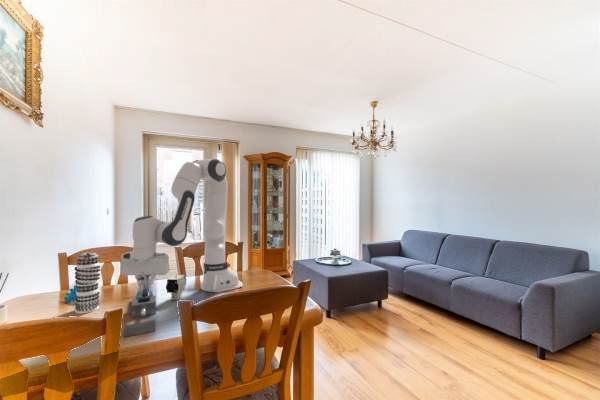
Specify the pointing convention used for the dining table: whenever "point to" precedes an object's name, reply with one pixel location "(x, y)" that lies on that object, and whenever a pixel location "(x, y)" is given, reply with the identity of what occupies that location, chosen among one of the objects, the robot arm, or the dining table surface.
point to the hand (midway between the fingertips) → (145, 284)
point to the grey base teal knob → (143, 304)
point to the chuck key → (144, 284)
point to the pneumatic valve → (176, 286)
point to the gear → (71, 295)
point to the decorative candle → (87, 282)
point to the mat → (139, 328)
